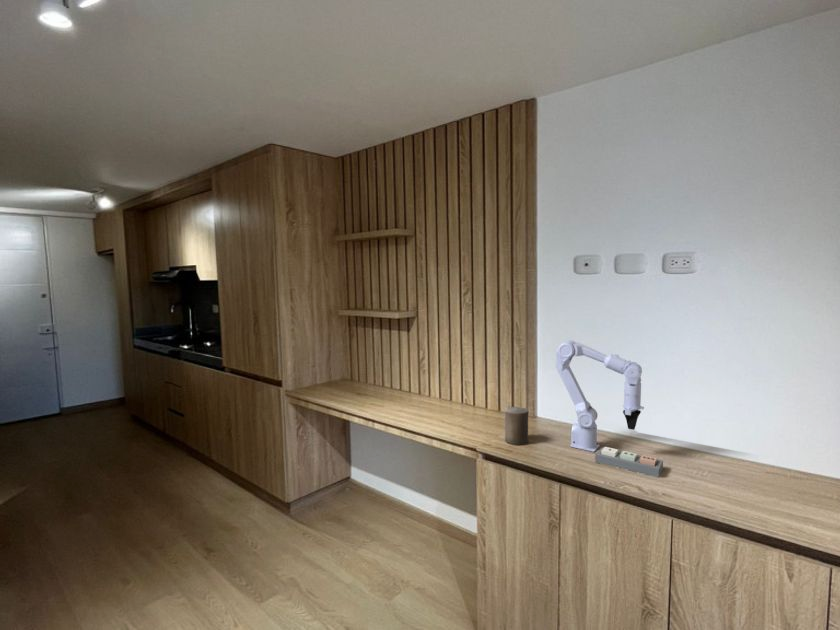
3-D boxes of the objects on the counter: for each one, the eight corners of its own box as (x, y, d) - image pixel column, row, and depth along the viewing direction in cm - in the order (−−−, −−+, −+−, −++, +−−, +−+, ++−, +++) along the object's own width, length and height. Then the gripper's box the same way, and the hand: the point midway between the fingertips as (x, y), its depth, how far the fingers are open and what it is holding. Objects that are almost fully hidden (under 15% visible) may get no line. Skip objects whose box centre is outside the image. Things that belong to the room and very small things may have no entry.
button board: (595, 462, 161) (595, 454, 161) (601, 454, 168) (602, 447, 168) (658, 477, 148) (658, 469, 148) (662, 468, 156) (663, 460, 155)
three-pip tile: (639, 469, 154) (639, 458, 154) (642, 465, 158) (642, 454, 157) (654, 473, 151) (654, 461, 151) (656, 468, 155) (657, 457, 155)
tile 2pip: (619, 465, 158) (620, 454, 158) (622, 460, 162) (623, 450, 161) (634, 468, 155) (634, 457, 155) (636, 464, 159) (637, 453, 159)
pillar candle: (528, 446, 178) (529, 410, 177) (504, 444, 180) (504, 409, 178) (527, 437, 187) (528, 404, 186) (504, 436, 189) (505, 402, 188)
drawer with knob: (601, 460, 162) (601, 450, 162) (604, 456, 166) (604, 446, 165) (614, 464, 159) (615, 453, 159) (618, 459, 163) (618, 449, 162)
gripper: (640, 400, 158) (638, 436, 159) (647, 392, 170) (646, 425, 171) (619, 397, 162) (618, 432, 163) (628, 389, 174) (627, 422, 175)
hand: (631, 428), depth 167 cm, fingers closed
